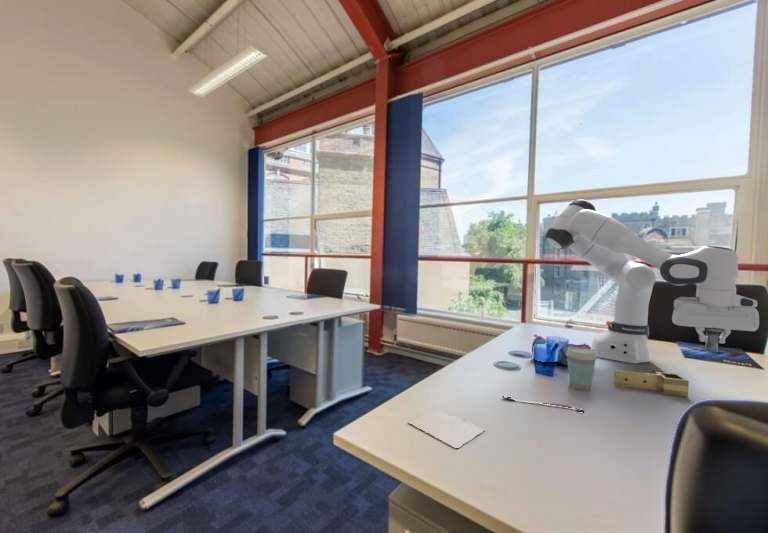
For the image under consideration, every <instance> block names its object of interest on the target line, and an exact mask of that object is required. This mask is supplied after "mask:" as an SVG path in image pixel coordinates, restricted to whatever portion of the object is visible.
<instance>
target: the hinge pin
mask: <svg viewBox="0 0 768 533" xmlns="http://www.w3.org/2000/svg"><path fill="white" fill-rule="evenodd" d="M705 332H706V334H705V336H708V342H705V347H704V350H705V351H707V352H710V353H718V349H719V343H718V339H719V336H720V333H722V332H723V329H717V328H705Z"/></svg>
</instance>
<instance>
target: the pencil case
mask: <svg viewBox="0 0 768 533" xmlns="http://www.w3.org/2000/svg"><path fill="white" fill-rule="evenodd" d="M533 337H534V339H533V342H532V344H531V353H532V355H533V346H534V345H535V344H545V343H546V341H547V339H545V338H544V337H543V336H541V335H540V336H539V335H538V334H536V333H535V334H533ZM563 344H564V345H563V346H562V348H561V349H560V351H559V354H558V362H559V363H558V364H560V363H562V364H561V365H564V366H566V367H568V362H567V355H566V351H567V350H568V348H569V347H583V348H588V349H591V347H590V346H591V345H589V344H586V343H581V344H574V343H563ZM593 351H594V350H593Z"/></svg>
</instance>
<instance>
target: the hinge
mask: <svg viewBox="0 0 768 533" xmlns="http://www.w3.org/2000/svg"><path fill="white" fill-rule="evenodd" d="M648 370H649V371H648V372H640V371H639V372H638V371H630V370H621V369H614V379H613V385H614V386H615V385H617V386H616V387H622V386H625V387H624V388H630V387H633V388H632V389H639V388H642V389H641V390H647V389H650V390H649V391H655V390H658V392H660V393H661V392H662V393H661V394H663V395H665V394H667V396H673V395H678V396H677V397H681V396H688V397H689V382H690V381H689V380H688V379H687V378H685V377H684V376H682V375H681V374H679V373H674V372H668V371H667V370H666V369H664V368H663V367H662V366H660V365H658V364H657V362H654V361H653V360H651V361H649V369H648Z"/></svg>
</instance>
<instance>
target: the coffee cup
mask: <svg viewBox="0 0 768 533" xmlns="http://www.w3.org/2000/svg"><path fill="white" fill-rule="evenodd" d="M566 355H567V362H568V366H567V370H568V371H567V372H568V380H569V382H568V383H569V386H570V387H571V388H572V387H573V389H574V388H575V389H576V390H577V391H584V390H587V391H590V390H591V388H592V383H593V382H592V381H593V376H594V370H595V365H596V360H597V358H598V357H596V354H595V351H593V350H591V349H588V348H583V347H569V348H568V350H567V351H566Z"/></svg>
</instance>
